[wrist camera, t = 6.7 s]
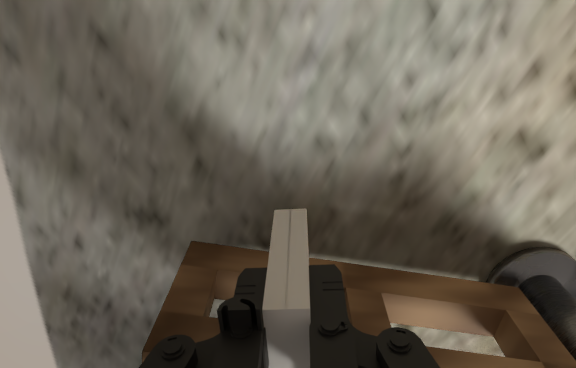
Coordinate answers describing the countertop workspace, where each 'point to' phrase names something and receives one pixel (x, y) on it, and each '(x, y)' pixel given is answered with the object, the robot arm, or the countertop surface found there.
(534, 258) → the hinge post
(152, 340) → the gate
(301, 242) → the robot arm
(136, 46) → the countertop surface
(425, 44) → the countertop surface
